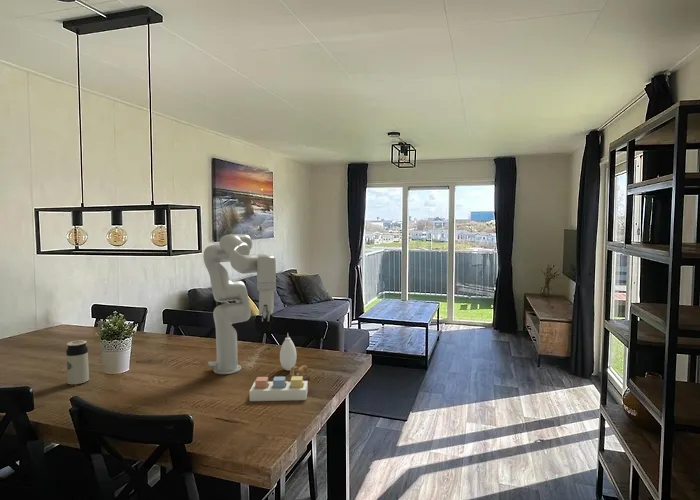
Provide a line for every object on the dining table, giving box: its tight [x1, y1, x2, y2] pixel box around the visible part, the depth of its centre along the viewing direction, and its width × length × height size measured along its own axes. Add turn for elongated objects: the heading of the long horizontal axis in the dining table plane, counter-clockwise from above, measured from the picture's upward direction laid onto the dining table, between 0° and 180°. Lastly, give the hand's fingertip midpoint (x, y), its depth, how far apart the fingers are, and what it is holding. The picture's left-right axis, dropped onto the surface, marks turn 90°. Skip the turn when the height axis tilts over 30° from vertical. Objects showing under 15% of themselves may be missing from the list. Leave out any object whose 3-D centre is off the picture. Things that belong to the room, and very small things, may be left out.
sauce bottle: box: [279, 333, 298, 372], centre depth 205 cm, size 8×8×18 cm
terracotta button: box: [254, 376, 269, 389], centre depth 174 cm, size 4×4×4 cm
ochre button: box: [290, 375, 304, 388], centre depth 174 cm, size 4×4×4 cm
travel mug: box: [65, 339, 90, 385], centre depth 190 cm, size 8×8×18 cm
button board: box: [248, 380, 309, 402], centre depth 174 cm, size 22×10×4 cm, turn 92°
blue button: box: [272, 376, 287, 388], centre depth 174 cm, size 4×4×4 cm
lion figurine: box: [289, 364, 311, 380], centre depth 188 cm, size 15×5×9 cm, turn 163°
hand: (267, 328), depth 175 cm, fingers open, 9 cm apart
